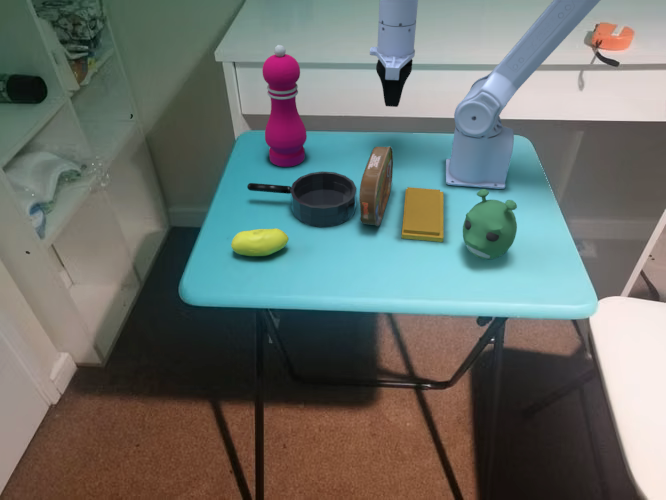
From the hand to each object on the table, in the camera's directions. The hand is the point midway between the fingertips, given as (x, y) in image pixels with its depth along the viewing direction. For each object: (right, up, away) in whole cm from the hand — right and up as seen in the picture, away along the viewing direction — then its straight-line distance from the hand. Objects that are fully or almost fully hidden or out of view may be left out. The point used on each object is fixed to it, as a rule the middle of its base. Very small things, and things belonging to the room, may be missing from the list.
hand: (391, 104), depth 90 cm
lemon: (-20, -25, -14) cm, 35 cm away
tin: (-3, -18, -6) cm, 19 cm away
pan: (-11, -18, -6) cm, 22 cm away
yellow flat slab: (+4, -19, -8) cm, 21 cm away
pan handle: (-20, -15, -6) cm, 26 cm away
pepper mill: (-18, -8, +6) cm, 21 cm away
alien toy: (+11, -25, -15) cm, 31 cm away
